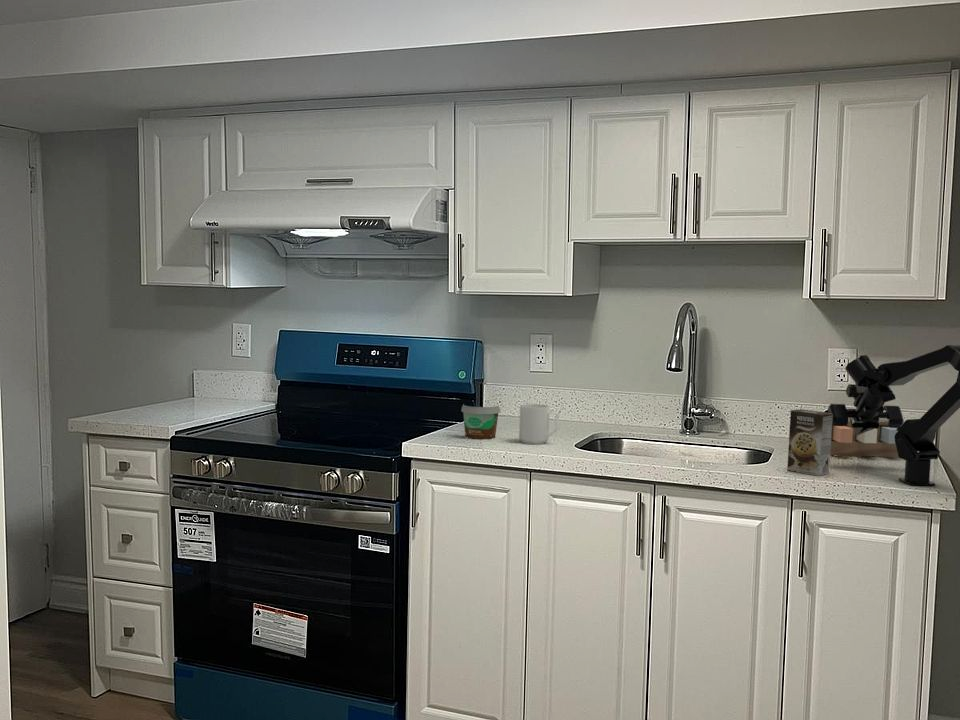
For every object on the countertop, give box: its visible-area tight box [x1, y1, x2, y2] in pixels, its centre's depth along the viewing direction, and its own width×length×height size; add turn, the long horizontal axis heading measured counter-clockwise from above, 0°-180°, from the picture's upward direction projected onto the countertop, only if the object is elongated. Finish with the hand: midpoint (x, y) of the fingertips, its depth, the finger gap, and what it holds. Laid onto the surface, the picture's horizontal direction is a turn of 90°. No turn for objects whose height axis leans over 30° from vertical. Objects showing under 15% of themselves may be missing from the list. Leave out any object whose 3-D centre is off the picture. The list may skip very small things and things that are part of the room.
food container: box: [461, 403, 501, 440], centre depth 289 cm, size 12×6×10 cm, turn 80°
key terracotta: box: [832, 425, 853, 443], centre depth 271 cm, size 6×4×4 cm, turn 1°
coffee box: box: [786, 409, 833, 477], centre depth 247 cm, size 9×6×16 cm
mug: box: [518, 403, 560, 445], centre depth 284 cm, size 12×9×11 cm
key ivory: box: [856, 429, 877, 443], centre depth 271 cm, size 6×4×4 cm, turn 1°
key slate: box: [879, 426, 898, 444], centre depth 271 cm, size 6×4×4 cm, turn 1°
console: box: [830, 418, 899, 458], centre depth 279 cm, size 12×22×10 cm, turn 91°
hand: (856, 433), depth 261 cm, fingers closed
